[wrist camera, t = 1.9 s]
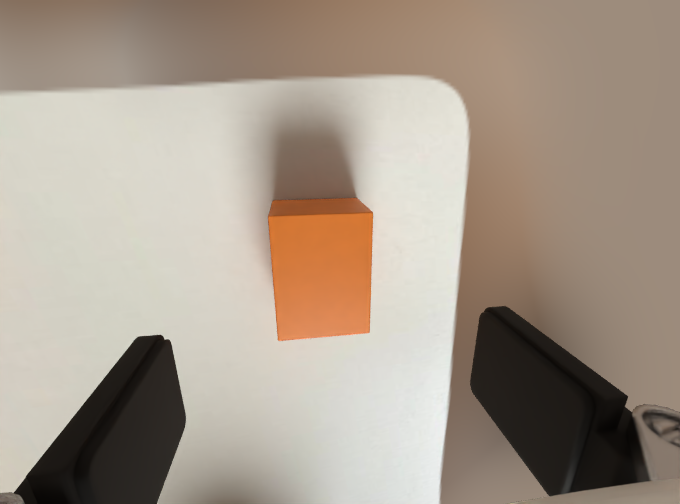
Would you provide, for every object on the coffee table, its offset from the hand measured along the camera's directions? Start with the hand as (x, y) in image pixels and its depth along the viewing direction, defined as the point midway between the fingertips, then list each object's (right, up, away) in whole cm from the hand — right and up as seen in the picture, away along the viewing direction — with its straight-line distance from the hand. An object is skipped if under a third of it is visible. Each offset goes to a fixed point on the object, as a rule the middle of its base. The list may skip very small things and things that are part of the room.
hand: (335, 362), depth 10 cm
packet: (-1, +3, +8) cm, 9 cm away
